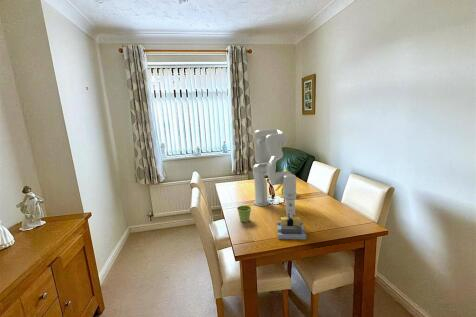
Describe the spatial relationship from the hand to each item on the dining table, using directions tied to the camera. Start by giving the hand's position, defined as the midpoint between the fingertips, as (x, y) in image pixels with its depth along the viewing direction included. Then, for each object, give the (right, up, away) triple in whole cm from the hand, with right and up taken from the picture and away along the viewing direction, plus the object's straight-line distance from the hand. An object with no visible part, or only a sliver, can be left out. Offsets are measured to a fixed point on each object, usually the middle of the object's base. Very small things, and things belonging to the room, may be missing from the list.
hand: (289, 223), depth 138 cm
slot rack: (0, -3, -4) cm, 5 cm away
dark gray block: (-1, -3, -9) cm, 9 cm away
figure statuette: (+10, +8, +59) cm, 60 cm away
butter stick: (0, 0, 0) cm, 0 cm away
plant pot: (-27, -2, +14) cm, 30 cm away
